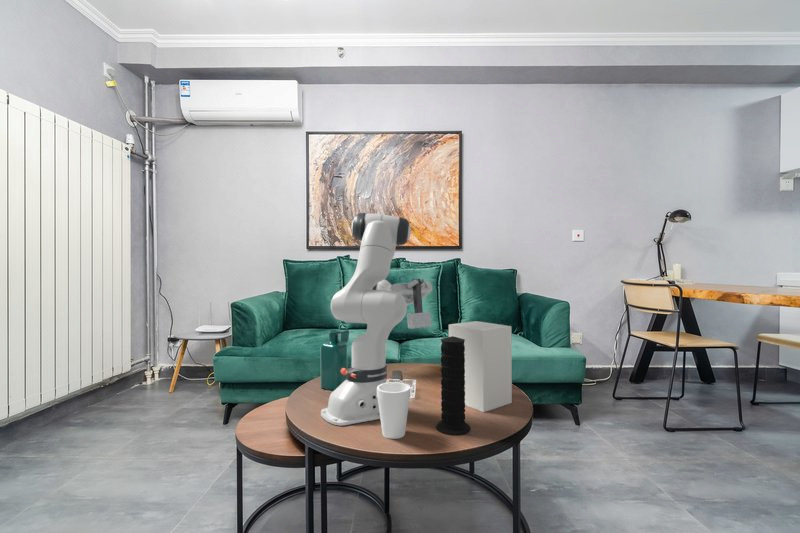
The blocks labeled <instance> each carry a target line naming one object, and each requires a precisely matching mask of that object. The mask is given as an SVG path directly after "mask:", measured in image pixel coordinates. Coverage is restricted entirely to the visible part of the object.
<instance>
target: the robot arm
mask: <svg viewBox="0 0 800 533" xmlns="http://www.w3.org/2000/svg"><path fill="white" fill-rule="evenodd" d="M350 226H351V233H352V236H353V238H354V239H355V240H358V241H359V242H360V241H361V242H360V246H359V253H358V259H357V264H356V268H355V270H354V273H353V275H352V277H351V278H350V280H349V281H348V282H347V284H346V285H344V286H343V288H341V289H340V290H338V291H337V292H336V293H335V294H334V295H333V296H332V299H330V300H331V301H330V311H331V314H332V316H333V317H334V319H335V320H338V321H340V322H345V323H351V324H367V326H366V330H365V332H364V333H362V334H360V335H358V336H357V337H356V338H354V339H353V341H352V342H351V346H350V347H351V349H350V350H351V351H350V352H351V353H350V354H351V365H350V367H349V369H348V368H347V369H345V368H342V370H341V371H340V372H341V373H342V374H343V375H347V379H346V380H345V381H344V382H343V383H342V384H341V385H340V386H339V387H337V388H336V389H335V390H332V392H331V393H330V394H329V397H328V401H327V402H328V403H327V407H325V408H322V409H321V410H320V417H322V419H324V420H325V421H326V422H327V423H329V424H332V425H335V426H341V427H342V426H348V425H354V424H359V423H366V422H369V421H370V422H371V421H375V420H380V412H379V405H378V398H377V386H378V385H380V384H384V383H387V378H388V377H387V376H388V369H387V368H388V367H387V364H386V353H387V352H386V351H387V350H386V348H387V343H388V339H389V336H390V333H391V332H392V331H393V329H394V328H395V327H396V326H397V325H398V324H399V323H401V322H402V321H403V319H404V318H405V316H406V315H407V310H408V306H410V305H414V298H413V286H414V285H417V284H418V283H419V282H418V280H413V281H409V282H401V283H400V282H399V283H394V284H393V283H392V282H390V280H388V279H387V278H388V276H389V275H390V270H391V263H392V260H393V259H394V257H395V252H396V248H397V247H396V246H404V245H405V244H407V243H408V241H409V239H410V237H411V234H412V228H411V224H410V221H409V220H408V219H407V218H405V217H402V216H394V215H389V214H382V213H366V212H360V213H359V212H358V213H357V214H355V215H354V217H353V220H352V221H351V225H350ZM420 282H421V296H422V299H424V298H425V297H427V295H429V294H430V293H432V291H433V285H432V283H431V282H428V281H426V279H425V278H423V279H420Z"/></svg>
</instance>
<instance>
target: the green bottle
mask: <svg viewBox="0 0 800 533" xmlns="http://www.w3.org/2000/svg"><path fill="white" fill-rule="evenodd" d="M326 334H328V341H326V342H323V343H322V344H321V345H320V349H319V350H320V351H319V352H320V355H319V356H320V388H321V389H323V388H324V389H325V390H328V391H329V390H330V391H334V390H335V389H336V388H337V387H339V386H340V385H341V384H342V383H343V382H344V381H345V380H346V379H347V375H343V374H342V373H341V372H340V371H341V370H342V368H345V369H347V370H348V345H347V344H348V342H349V335H350V330H349V329H346V330H345V329H344V330H342V331H341V330H339V329H329V330H327V331H326ZM339 336H340V340H339ZM324 389H323V390H324Z"/></svg>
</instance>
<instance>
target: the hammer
mask: <svg viewBox="0 0 800 533" xmlns="http://www.w3.org/2000/svg"><path fill="white" fill-rule="evenodd" d="M411 280H412V281H413V280H418V282H419V283H418V284H417V285H414V286H413V298H414V303H413V309H414V313H413V312H412V313H410V312H409V313H406V318H407V319H406V322H407V329H411V330H412V329H418V328H419V329H420V328H427V327H428V328H429V327H432V318H431V317H432V316H431V311H423V310H424V308H423V298H422V296H421V282H420V280H421V278H412V279H411ZM412 281H411V282H412Z"/></svg>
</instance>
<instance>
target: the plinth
mask: <svg viewBox="0 0 800 533" xmlns="http://www.w3.org/2000/svg"><path fill="white" fill-rule="evenodd" d="M452 336H454V337H458V338H461V339H464V340H465V342H464V346H465V351H464V354H465V356H464V357H465V363H464V365H465V367H464V368H465V375H464V376H465V378H464V379H465V386H464V387H465V397H464V398H465V407H469V408H471V409H475V410H477V411H479V412H482V413H485V412H489V411H491V410H495V409H498V408H500V407H503V406H506V405H510V404H512V402H513V401H512V400H513V396H512V395H513V392H512V391H513V390H512V389H513V387H512V386H513V382H512V379H513V376H512V374H513V373H512V370H513V367H512V366H513V364H512V362H513V360H512V355H513V354H512V350H513V349H512V344H513V343H512V325H506V324H505V325H504V324H499V323H491V322H486V321H485V322H484V321H478V320H475V321H468V322H467V321H464V322H459V323H458V322H457V323H451V324H448V337H452Z"/></svg>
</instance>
